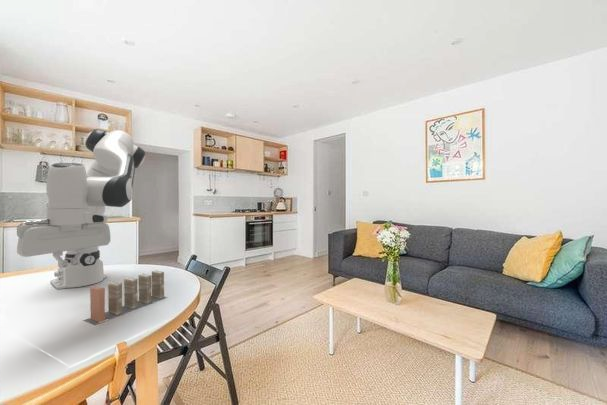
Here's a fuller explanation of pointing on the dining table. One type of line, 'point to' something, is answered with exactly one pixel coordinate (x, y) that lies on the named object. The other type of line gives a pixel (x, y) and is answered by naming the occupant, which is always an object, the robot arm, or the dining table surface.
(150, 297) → the domino
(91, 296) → the terracotta domino
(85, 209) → the robot arm
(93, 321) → the slate mat
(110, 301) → the domino
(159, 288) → the domino
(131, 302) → the domino
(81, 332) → the dining table surface
